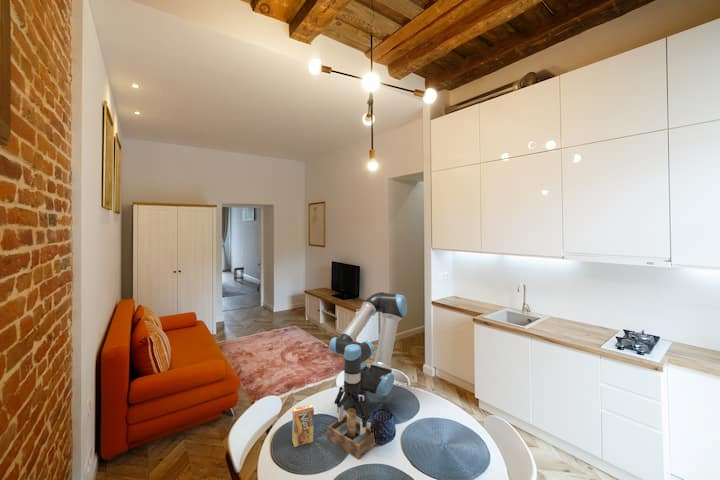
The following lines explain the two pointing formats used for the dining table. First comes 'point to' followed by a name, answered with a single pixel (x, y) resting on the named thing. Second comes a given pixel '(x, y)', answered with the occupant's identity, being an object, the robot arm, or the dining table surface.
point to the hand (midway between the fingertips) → (351, 426)
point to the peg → (351, 423)
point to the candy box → (302, 425)
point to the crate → (354, 447)
